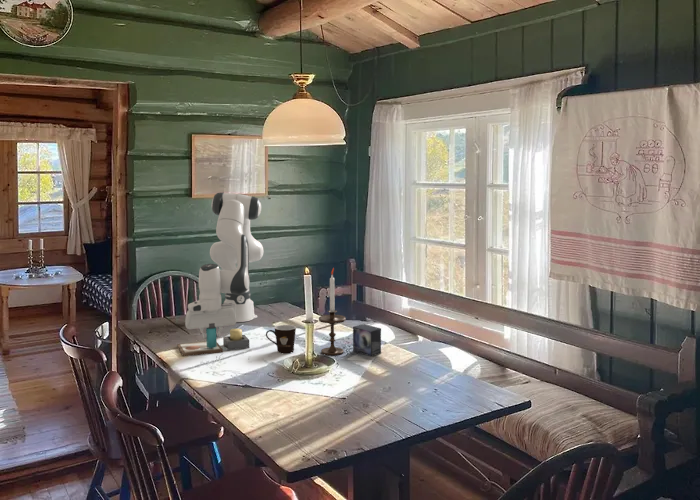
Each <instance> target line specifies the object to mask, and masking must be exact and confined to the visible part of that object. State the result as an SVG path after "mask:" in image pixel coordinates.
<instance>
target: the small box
mask: <svg viewBox="0 0 700 500" xmlns="http://www.w3.org/2000/svg"><path fill="white" fill-rule="evenodd" d="M352 351H353V352H356V353H359V354H363V355H366V356H368V357H372V356H376V355H380V354H382V328H380V327H377V326H374V325H373V326H372V325H368V324H366V323H362V324H357V325H354V326H352Z"/></svg>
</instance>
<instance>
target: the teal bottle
mask: <svg viewBox="0 0 700 500" xmlns="http://www.w3.org/2000/svg"><path fill="white" fill-rule="evenodd" d="M205 332H206V333H205V334H207V339H205V340H206V341H207V347H208V348H214V347H217V343H218V342H217V338H216V333H217V327H215V323H211V324H209V328H205Z"/></svg>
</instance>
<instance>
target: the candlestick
mask: <svg viewBox="0 0 700 500" xmlns="http://www.w3.org/2000/svg"><path fill="white" fill-rule="evenodd" d="M334 271H335V268H334V267H333V268H332V270H331V272H330V275H331V277H330V278H329V310H327V313H329V314H324V315H321V316H318V321H319V322H320V323H324V324H329V325H330V333H329V334H328V336H329V337H330V339H329V340H328V341H329V342H330V346H329V347H325V348H322V349H321V354H322V355H324V354H325V355H324V356H329V355H331V356H334V357H335V356H339V355H343V354H344V351H345V350H344V349H343V348H341V347H336V346H335V342H336V339H335V337H336V336H337V333H335V325H336V324H341V323H344V322H346V320H347V319H346V316H345V315H340V314H335V313H338V310H335V304H336V303H335V300H336V299H335V277H334Z"/></svg>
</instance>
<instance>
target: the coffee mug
mask: <svg viewBox="0 0 700 500" xmlns="http://www.w3.org/2000/svg"><path fill="white" fill-rule="evenodd" d="M296 329H297V327H296V326H295V325H292V324H282V325H276V326H274V330H272V329H269V330H267V331H266V333H265V336H266V339H267V340H268V341H270V342H271V343H273V344H274V345H275V346H276V348H277V352H278V354H282V353H283V355H286V354H292V353H294V351H295V349H294V348H295V340H296ZM270 332H272V333H273V334H274V335H275V340H272V339H271V338H270V337H269V336H268V333H270ZM275 341H276V342H275ZM291 352H292V353H291Z"/></svg>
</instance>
